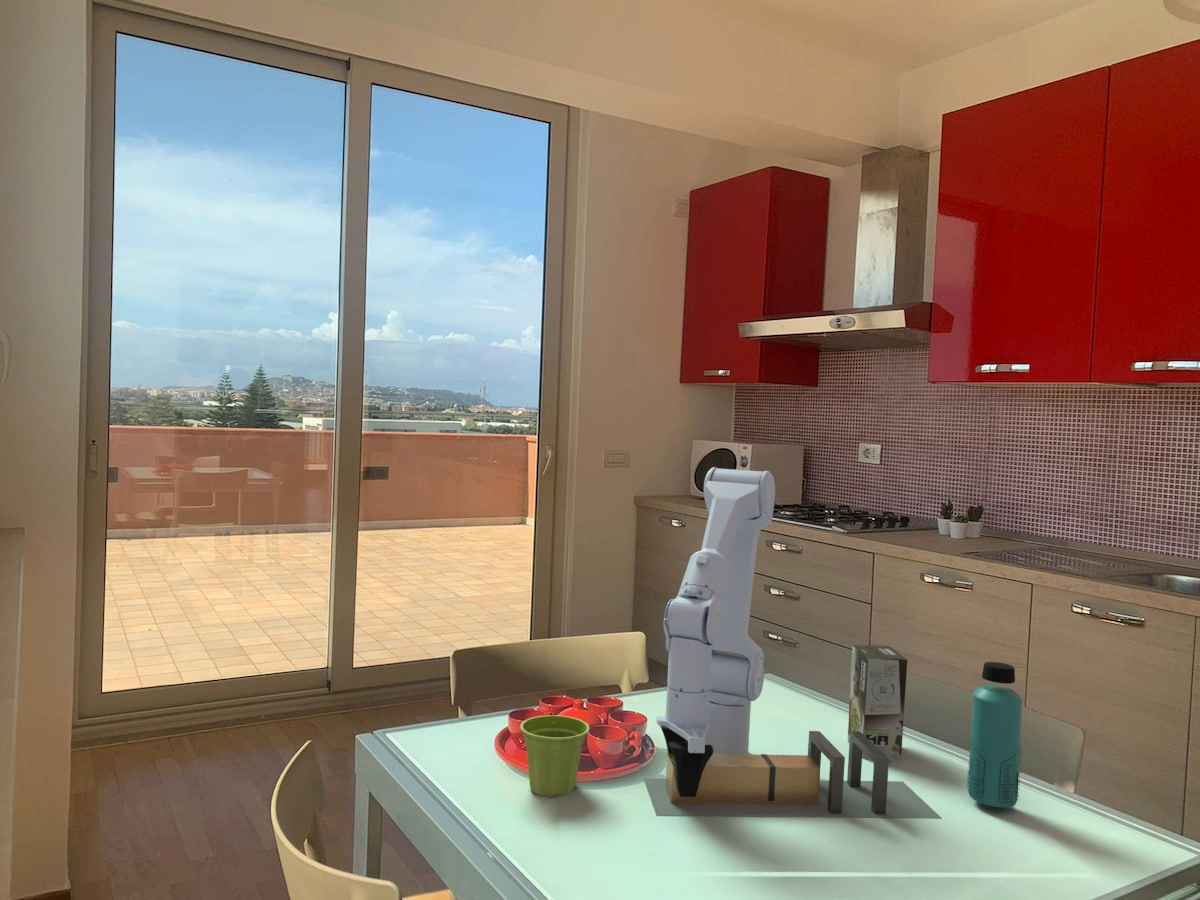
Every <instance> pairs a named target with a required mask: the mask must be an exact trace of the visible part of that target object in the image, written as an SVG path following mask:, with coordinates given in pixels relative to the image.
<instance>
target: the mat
mask: <svg viewBox="0 0 1200 900" xmlns="http://www.w3.org/2000/svg"><path fill="white" fill-rule="evenodd" d="M643 781H644V784H645V787H646V790H647V792H648V793H647V794H648V795H649V798H650V801H651V804H652V807H653V810H654V813H655V816H656V817H711V818H712V817H724V818H725V817H727V818H728V817H731V818H733V817H735V818H736V817H737V818H738V817H739V818H742V817H743V818H826V819H827V818H833V819H834V818H836V819H837V818H840V819H841V818H843V819H845V818H847V819H848V818H849V819H850V818H851V819H852V818H853V819H854V818H855V819H856V818H857V819H861V818H862V819H943V818H942V816H940V815H939V814H938V813H937V812H936V811H935V810H934V809H933V808H932V807H931V806H930V805H929V804H928V803H926V802H925V801H924V800H923V799H922V798H921V796H919V795H918V794H917V793H916V792H915V791H914V790H913V789H912V788H910V787H909V785H907V784H906V783H905V782H904V781H902V780H901V781H897V780H895V781H894V780H893V781H891V780H890V781H889V780H888V783H887V800H886V814H874V813H873V812H872V811H871V803H872V786H873V780H861V785H860V787H850V786H849V785H848V784H847V780H844V782H843V799H842V814H830V812H829V811H828V810H827V807H828V790H829V779H828V780H824V779H823V780H820V782H819V797H818V805H792V804H694V803H671V802H670V800H669V797H668V795H667V792H666V790H665V785H666V777H665V778H661V777H660V778H659V777H658V778H656V777H655V778H654V777H643Z"/></svg>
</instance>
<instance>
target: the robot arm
mask: <svg viewBox="0 0 1200 900" xmlns="http://www.w3.org/2000/svg"><path fill="white" fill-rule="evenodd" d="M775 483H776V482H775V478H774V475H773V474H772V473H771V471H769V470H764V471H762V470H761V471H759V470H744V469H732V468H731V469H729V468H718V467H716V466H715V467H714V466H713V467H711V468H710V469H709V470H708V471H707V473H706V475H705V477H704V482H703V498H704V501H705V505H706V510H707V512H708V513H709V514H708V517H707V518H708V519H707V523H706V527H705V532H704V536H703V540H702V544H701V545H702V546H701V549H700V550H699V551H696V552H694V553H692V555H690V558H689V561H688V564H687V567H686V570H685V573H684V575H683V578H682V581H681V584H680V587H679V590H678V593H677V596H675V598H670V599H669V601H668V602H667V604H666V606H665V611H664V616H663V617H664V618H663V633H664V636H665V651H667V652H668V665H667V666H668V667H667V681H666V682H667V685H666V687H667V688H666V699H665V700H666V703H665V715H658V716H656V723H657V725H658V726H659V727H660V729H661V731H662V734H663V736H664V737H663V738H664V740H665V744H666V749H667V753H673V756H674V760H675V765H676V773H677V785H678V791H679V795H680V797H695V796H696V793H697V790H698V787H699V783H700V780H701V776H702V773H703V770H704V768H705V766H706V764H707V762H708V760H709V759H710V757H711V756H712V754H751V752H750V750H749V746H750V745H749V744H750V727H751V708H752V702H755V701H756V700H757V699H758V698H760V696H761V694H762V691H763V687H764V679H765V667H764V659H765V658H764V657H765V654H764V651H763V650H762V648H761V647H760V646H759V644H757V643H756V642H755V641H754V640H753V639H752V638H751V636H750V635H749V625H750V624H749V623H750V615H751V614H750V613H751V608H752V607H751V605H752V598H753V597H752V595H753V588H754V587H753V586H754V581H755V580H754V577H755V568H756V558H757V550H758V542H759V537H760V534H761V530H762V529H765V528H767V527H770V526H771V524H772V519H773V517H774V508H775V507H774V506H775V497H776V485H775ZM716 651H719V652H724V653H725V652H726V653H732V654H738V655H742V656H745V657H742V656H738V655H730V654H724V653H718V652H716Z"/></svg>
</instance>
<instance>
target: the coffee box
mask: <svg viewBox="0 0 1200 900" xmlns="http://www.w3.org/2000/svg"><path fill="white" fill-rule="evenodd" d="M851 646H852V647H851V648H852V651H851V652H852V653H851V664H850V665H851V666H850V686H849V687H850V689H849V705H848V706H849V709H848V726H847V727H848V728H847V742H848V743H849V741H850V732H861V733H862V734H863V735H864V736H865V737H866V738H868V739H869V740H870V741H871V742H872V743H873V744H874V745H875V746H876V747H877V748H879V749H880V750H881V751H882V752H883V753H884V754H885V755H886V756H887V757H889V761H902V754H903V753H902V751H903V737H904V736H903V734H904V717H905V703H906V701H905V700H906V692H907V691H906V690H907V687H906V686H907V673H908V672H907V671H908V662H909V660H908V658H906V657H905V656H903V655H902V654H901V653H899V652H898V651H896V650H895V649H894V648H893V647H891V646H890V645H867V644H866V645H861V644H860V645H857V644H853V645H851ZM863 759H866V760H871V759H870V758H869V757H868V756H867V755H866V754H865V753H864V752H863V751H862V760H863Z"/></svg>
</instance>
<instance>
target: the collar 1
mask: <svg viewBox="0 0 1200 900" xmlns="http://www.w3.org/2000/svg"><path fill="white" fill-rule="evenodd" d="M807 744H808V746H807V755H809V756H810V757H811V758H812V759H813V760H814V761H815V763H816V764H817V765H818V766H819V767H820V768H821V762H822V754H823V755H824V756H825V758H827V760H828V761H829V773H828V774H829V777H828V780H829V790H828V807H827V810H828V811H829V812H830V814H842V799H843V782H844V781H845V779H844V778H845V765H846V764H845V761H846V757H845V756H844V755H843V753H841V751H840V750H838V749H837V747H835V745H834V744H833V743H831V742H830V740H829V739H828V738H827V737H826V736H825V735H824V734H823V733H822V732H821V731H820V730H809V731H808V743H807ZM819 782H820V780H819Z"/></svg>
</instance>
